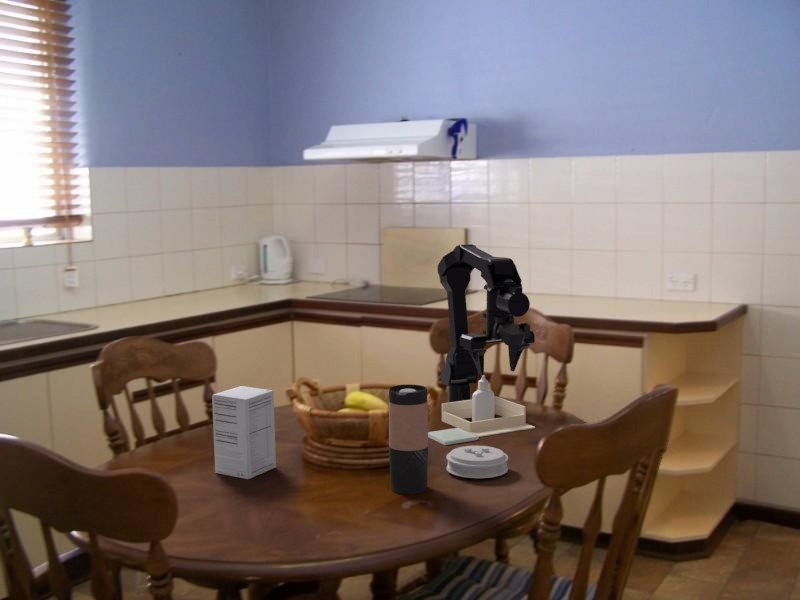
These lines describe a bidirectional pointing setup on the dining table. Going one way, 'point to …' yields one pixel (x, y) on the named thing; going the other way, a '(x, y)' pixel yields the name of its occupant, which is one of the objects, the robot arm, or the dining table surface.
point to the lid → (477, 462)
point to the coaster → (452, 436)
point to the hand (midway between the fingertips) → (497, 373)
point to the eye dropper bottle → (482, 402)
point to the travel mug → (408, 438)
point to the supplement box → (244, 431)
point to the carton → (508, 422)
